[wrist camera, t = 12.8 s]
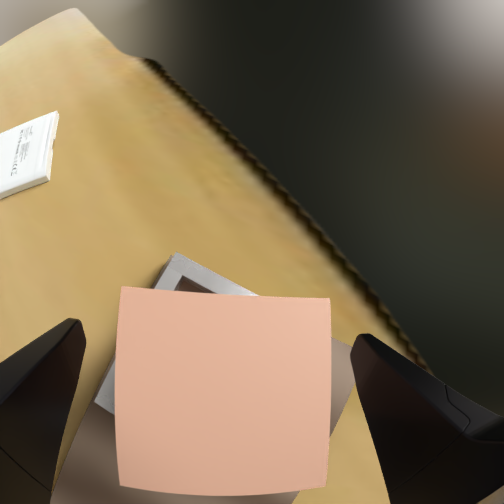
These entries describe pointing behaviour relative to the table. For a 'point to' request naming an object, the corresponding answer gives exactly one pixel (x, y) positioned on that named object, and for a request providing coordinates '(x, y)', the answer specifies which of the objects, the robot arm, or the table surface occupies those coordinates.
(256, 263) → the table surface
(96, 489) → the board
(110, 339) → the table surface
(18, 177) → the external hard drive
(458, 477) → the robot arm
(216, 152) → the table surface
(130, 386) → the terracotta pin
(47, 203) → the table surface
